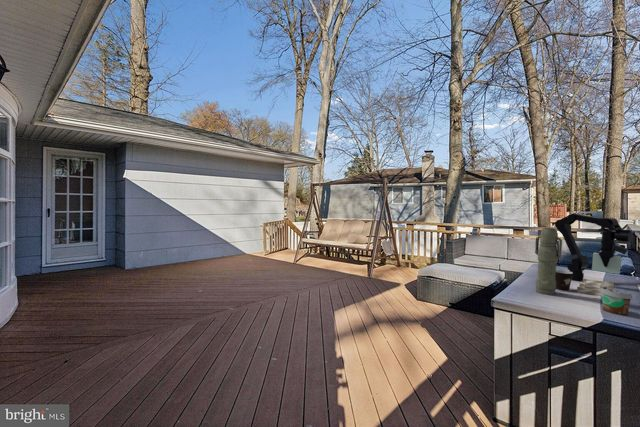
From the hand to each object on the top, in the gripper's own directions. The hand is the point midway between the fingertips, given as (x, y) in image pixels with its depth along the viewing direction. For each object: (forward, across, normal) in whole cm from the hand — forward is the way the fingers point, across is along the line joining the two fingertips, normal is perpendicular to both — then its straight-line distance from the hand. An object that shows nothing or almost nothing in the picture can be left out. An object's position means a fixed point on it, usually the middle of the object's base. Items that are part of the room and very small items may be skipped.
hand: (606, 266), depth 186 cm
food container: (+12, -52, -5) cm, 54 cm away
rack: (+12, -12, +3) cm, 17 cm away
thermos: (+12, -40, +22) cm, 47 cm away
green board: (+3, 0, 0) cm, 3 cm away
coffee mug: (+12, -26, +18) cm, 34 cm away
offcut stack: (+12, -19, +3) cm, 23 cm away
